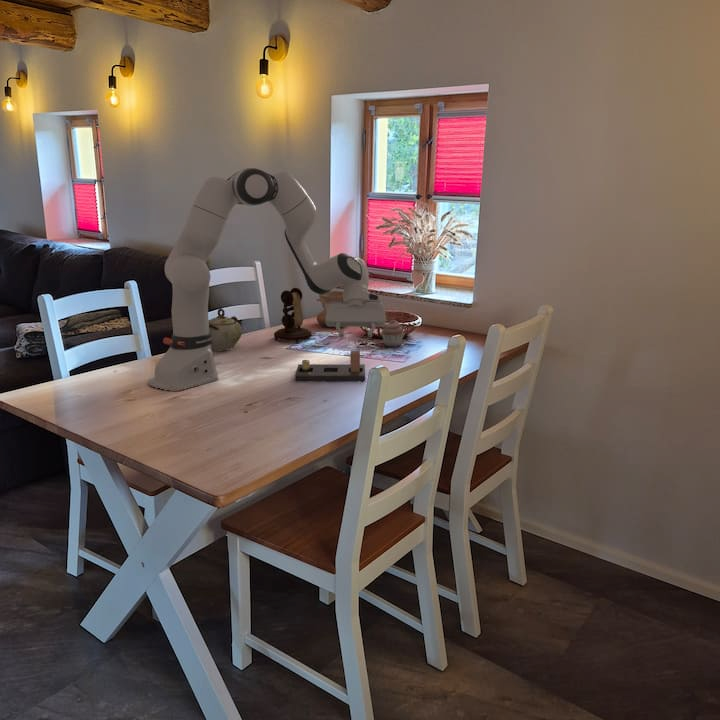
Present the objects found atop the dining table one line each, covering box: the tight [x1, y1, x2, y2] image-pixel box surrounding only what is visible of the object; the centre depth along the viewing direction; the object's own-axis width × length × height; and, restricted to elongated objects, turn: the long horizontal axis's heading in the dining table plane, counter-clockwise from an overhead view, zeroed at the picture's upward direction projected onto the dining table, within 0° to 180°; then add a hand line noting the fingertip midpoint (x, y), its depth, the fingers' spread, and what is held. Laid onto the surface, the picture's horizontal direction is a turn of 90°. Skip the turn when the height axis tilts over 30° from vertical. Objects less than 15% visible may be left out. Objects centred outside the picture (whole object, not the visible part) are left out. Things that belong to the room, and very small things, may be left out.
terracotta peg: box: [349, 350, 361, 372], centre depth 199 cm, size 3×3×8 cm
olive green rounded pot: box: [209, 308, 243, 351], centre depth 230 cm, size 20×15×15 cm
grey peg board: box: [294, 359, 366, 383], centre depth 199 cm, size 22×12×5 cm, turn 90°
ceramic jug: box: [316, 290, 344, 328], centre depth 265 cm, size 18×14×14 cm
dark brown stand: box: [273, 287, 313, 344], centre depth 242 cm, size 15×15×20 cm
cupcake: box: [380, 319, 405, 348], centre depth 235 cm, size 9×9×10 cm
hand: (355, 336), depth 204 cm, fingers open, 8 cm apart
